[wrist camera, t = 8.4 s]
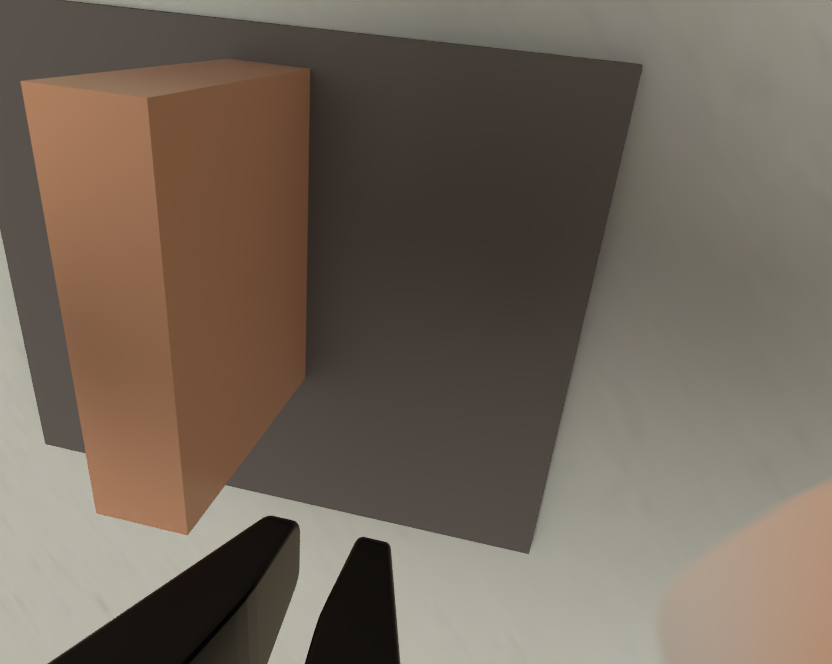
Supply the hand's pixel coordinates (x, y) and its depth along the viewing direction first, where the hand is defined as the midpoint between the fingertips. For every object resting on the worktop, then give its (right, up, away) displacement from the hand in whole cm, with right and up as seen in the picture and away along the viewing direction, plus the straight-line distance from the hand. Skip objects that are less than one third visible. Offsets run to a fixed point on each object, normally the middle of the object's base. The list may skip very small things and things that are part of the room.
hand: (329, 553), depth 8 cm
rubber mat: (-3, +4, +11) cm, 12 cm away
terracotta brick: (-3, +6, +10) cm, 12 cm away
